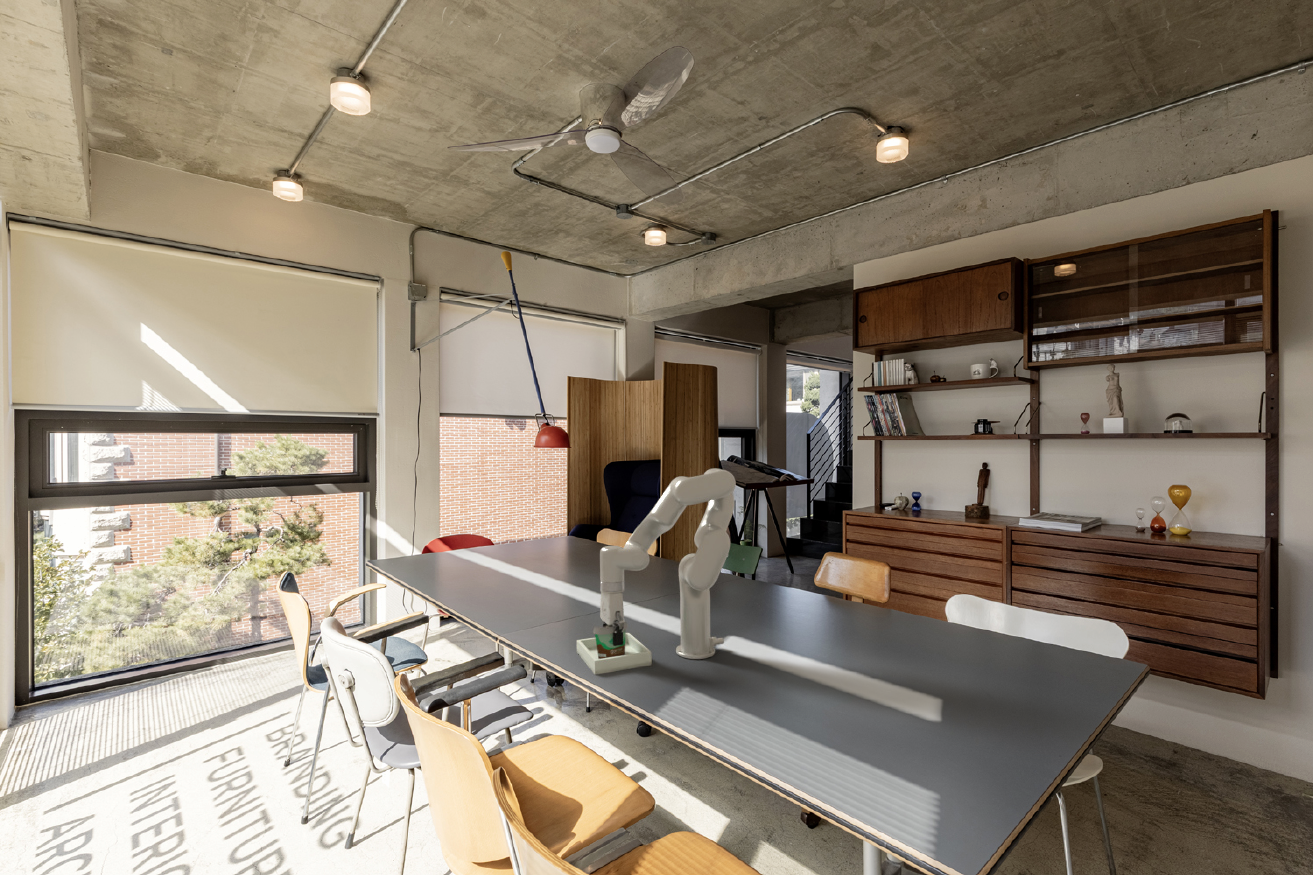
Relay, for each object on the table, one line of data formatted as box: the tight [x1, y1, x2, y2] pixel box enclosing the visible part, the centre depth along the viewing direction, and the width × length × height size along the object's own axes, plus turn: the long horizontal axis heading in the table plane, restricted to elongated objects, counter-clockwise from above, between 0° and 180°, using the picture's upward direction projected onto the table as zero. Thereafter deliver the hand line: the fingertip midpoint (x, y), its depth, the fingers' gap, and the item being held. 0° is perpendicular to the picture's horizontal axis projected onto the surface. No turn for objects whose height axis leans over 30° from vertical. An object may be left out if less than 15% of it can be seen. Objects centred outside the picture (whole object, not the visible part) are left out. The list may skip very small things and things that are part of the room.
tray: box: [576, 632, 653, 676], centre depth 190 cm, size 18×20×4 cm
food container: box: [592, 619, 628, 659], centre depth 189 cm, size 12×6×10 cm, turn 136°
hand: (612, 640), depth 190 cm, fingers open, 9 cm apart
